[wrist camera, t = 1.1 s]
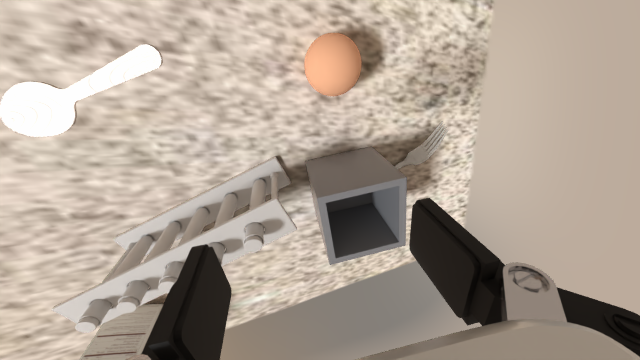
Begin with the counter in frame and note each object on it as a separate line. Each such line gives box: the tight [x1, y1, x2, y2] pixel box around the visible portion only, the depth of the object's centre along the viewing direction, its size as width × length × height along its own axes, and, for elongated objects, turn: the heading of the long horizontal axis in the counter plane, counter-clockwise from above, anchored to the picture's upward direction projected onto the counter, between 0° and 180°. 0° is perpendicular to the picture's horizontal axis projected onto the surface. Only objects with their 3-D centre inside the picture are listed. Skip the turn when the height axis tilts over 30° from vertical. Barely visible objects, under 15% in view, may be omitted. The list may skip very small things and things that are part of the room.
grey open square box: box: [305, 147, 407, 265], centre depth 31 cm, size 10×10×10 cm
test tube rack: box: [52, 156, 297, 333], centre depth 27 cm, size 25×4×13 cm, turn 115°
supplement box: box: [79, 304, 163, 360], centre depth 35 cm, size 7×7×13 cm
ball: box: [304, 33, 361, 96], centre depth 25 cm, size 6×6×6 cm
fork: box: [394, 121, 448, 169], centre depth 36 cm, size 3×21×3 cm, turn 131°
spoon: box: [0, 44, 162, 137], centre depth 25 cm, size 5×18×1 cm, turn 113°
